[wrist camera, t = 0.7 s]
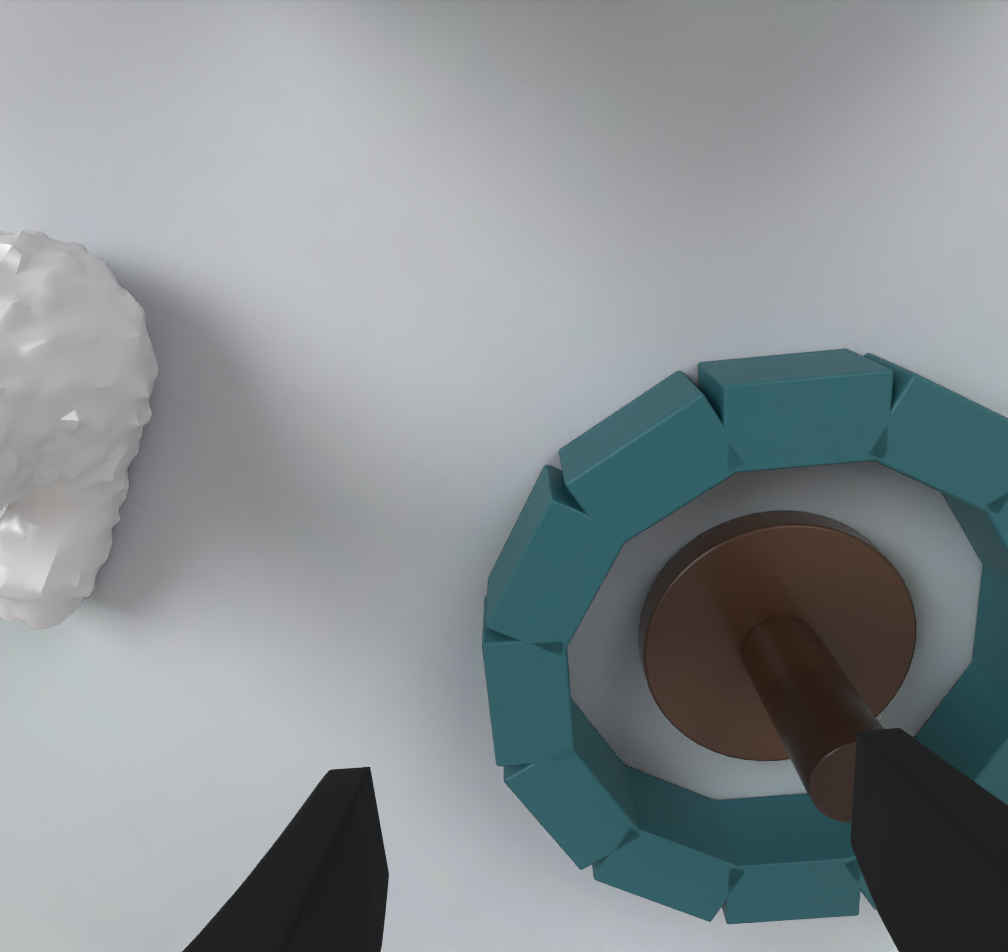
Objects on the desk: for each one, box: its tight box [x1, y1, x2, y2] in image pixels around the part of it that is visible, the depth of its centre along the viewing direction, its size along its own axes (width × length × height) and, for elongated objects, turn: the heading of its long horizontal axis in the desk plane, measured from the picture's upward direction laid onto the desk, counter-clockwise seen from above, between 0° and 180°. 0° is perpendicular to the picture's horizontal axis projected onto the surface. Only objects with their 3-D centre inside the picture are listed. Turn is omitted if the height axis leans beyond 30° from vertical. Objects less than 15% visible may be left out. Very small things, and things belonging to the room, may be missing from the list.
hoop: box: [482, 349, 1008, 924], centre depth 21 cm, size 15×15×2 cm
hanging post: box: [639, 511, 916, 823], centre depth 19 cm, size 7×7×6 cm
